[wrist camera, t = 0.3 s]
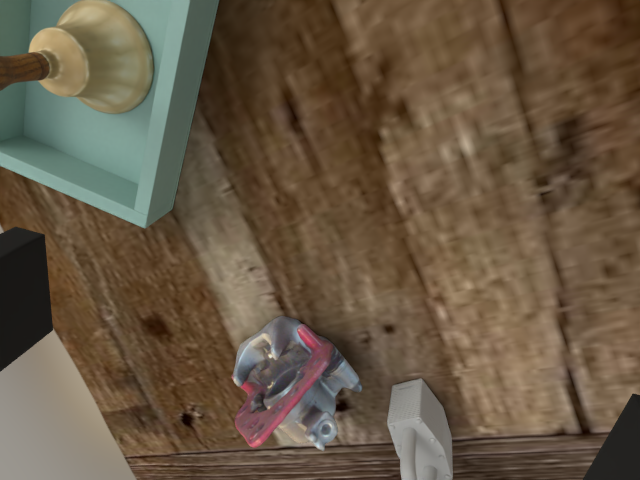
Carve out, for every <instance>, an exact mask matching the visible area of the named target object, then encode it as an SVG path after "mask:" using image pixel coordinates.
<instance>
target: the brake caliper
mask: <svg viewBox="0 0 640 480" xmlns="http://www.w3.org/2000/svg"><path fill="white" fill-rule="evenodd" d="M231 377H232V379H233V380H234V382H235V384H236V385H237V386H240V387H241V388H242V389H244V390H245V391H246V392H247V394H248V397H247V400H246V402H245V404H244V405H243V406H242V407H241V409H240V410H239V411H238V413H237V415H236V417H235V425H236V428H237V430H238V431H239V432H240V434H241V435H243V437H244V438H245V440H246V441H247V443H248V444H249V445H250V446H251V447H258V446H259V445H261V444H263V443H264V442H265V441H266V439H267V438H268V437H269V436H270V434H271V433H272V432H273V431H274V429H275V428H276V427H279V428H280V429H281V430H283V431H284V432H285V433H286V434H288V435H289V436H290V437H291V438H292V439H293V440H294V441H295V442H297V443H307V442H311V443H312V444H314V445H315V446H316V447H317V448H318V449H320V450H322V451H324V449H325V444H326V443H328V442H330V441H332V440H333V439H334V438H335V436H336V435H337V432H338V429H337V425H336V422H335V420H334V418H333V417H334V414H335V409H336V402H335V397H336V395H337V393H338V392H339V391H340V390H341V389H342V388H343V387H345V388H348V389H350V390H352V391H354V392H360V391H361V390H362V385H361V383H360V380H359V377H358V375H357V373H356V372H355V371H354V369H353V368H352V367H351V366H350V364H349V363H348V362H347V360H346V359H345V358H344V357H343V356H342V354H341V353H340V352H339V351H338V350H337V348H336V347H335V345H334V344H333V343H331V342H330V341H329V340H328V339H327V338H325V337H321V336H318V335H316V334H315V333H314V332H313V331H312V330H311V329H310V328H309V327H308V326H307V325H305V324H301V322H300V321H299V320H297V319H293V318H289V317H284V316H280V317H277V318H275V319H273V320H272V321H271V322H269V323H268V324H267V325H266V326H265V327H264V328H263V329H262V330H260V331H259V332H258V333H257V334H255V335H253V336H252V337H250V338H248V339H247V340H245V341H244V342H243V343H242V344H241V345H240V347H239V350H238V352H237V358H236V364H235V369H234V373H233V374H232V376H231ZM256 410H258V411H259V412H256V413H254V412H255V411H256Z"/></svg>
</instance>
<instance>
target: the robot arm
mask: <svg viewBox="0 0 640 480" xmlns="http://www.w3.org/2000/svg"><path fill="white" fill-rule="evenodd" d="M52 330H53V325H52V314H51V303H50V291H49V280H48V269H47V257H46V246H45V235H44V234H40V233H37V232H33V231H29V230H26V229H22V228H18V227H14V228H12V229H10V230H8V231H6V232H4V233H1V234H0V371H2V370H3V369H4V368H5V367H7V366H8V365H9V364H11V363H12V362H13V361H14V360H16V359H17V358H18V357H19V356H21V355H22V354H23V353H25V352H26V351H27V350H28V349H30V348H31V347H32V346H33V345H34V344H36V343H37V342H38V341H40V340H41V339H42V338H43V337H45V336H46V335H47V334H49V333H50V332H51V331H52ZM583 480H640V395H637V394H632V396H631V398H630V399H629V401H628V403H627V405H626V406H625V408H624V410H623V411H622V413H621V415H620V417H619V418H618V420H617V422H616V423H615V425H614V427H613V429H612V430H611V432H610V434H609V435H608V437H607V439H606V441H605V442H604V444H603V446H602V447H601V449H600V451H599V453H598V454H597V456H596V458H595V459H594V461H593V463H592V465H591V466H590V468H589V470H588V472H587V473H586V475H585V477H584V478H583Z"/></svg>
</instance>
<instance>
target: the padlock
mask: <svg viewBox="0 0 640 480" xmlns="http://www.w3.org/2000/svg"><path fill="white" fill-rule="evenodd" d="M387 424H388V428H389V431H390V434H391V437H392V440H393V443H394V446H395V449H396V452H397V455H398V457H399V458H400V460H401V462H400V469H401V478H402V480H452V478H453V470H452V436H451V433H450V429H449V426H448V422H447V419H446V415H445V412H444V408H443V406H442V405H441V404H440V402H439V401H438V400H437V398H436V397H435V396H434V394H433V393H432V392H431V390H430V389H429V387H428V386H427V385H426V383H425V382H424V381H423V379H417V380H413V381H409V382H405V383H401V384H397V385H393V386H392V391H391V399H390V406H389V413H388V421H387Z"/></svg>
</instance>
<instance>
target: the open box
mask: <svg viewBox="0 0 640 480" xmlns="http://www.w3.org/2000/svg"><path fill="white" fill-rule="evenodd" d="M78 1H81V0H0V56H13V55H19V54H26V53H29V47H30V44H31V41H32V39H33V38H34V36H35V35H36V34H37V33H38V32H40V31H41V30H43V29H45V28H50V27H55V26H56V25H57V23H58V21H59V19H60V17H61V16H62V14H63V13H64V12H65V11H66V10H67V9H68V8H69V7H70V6H71V5H73V4H74V3H76V2H78ZM108 1H110V2H113V3H115V4H117V5H119V6H120V7H122V8H123V9H125V10H126V11H127V12H128V13H129V14H131V15H132V16H133V18H134V19H135V20H136V21H137V22H138V23H139V25H140V26H141V28H142V29H143V31H144V33H145V35H146V36H147V39H148V41H149V44H150V47H151V50H152V55H153V63H154V75H153V81H152V84H151V87H150V90H149V92H148V94H147V96H146V97H145V99H144V100H143V101H142V103H140V104H139V105H138V106H137V107H135V108H134V109H132V110H130V111H128V112H125V113H120V114H108V113H103V112H99V111H97V110H94V109H92V108H90V107H89V106H87V105H85V104H84V103H82V102H81V101H80V100H79V99H78V98H76V97H62V96H58V95H55V94H53V93H51V92H50V91H48V90H47V89H46V88H44V87H43V86H42V85H41V84H40V82H39V81H27V82H18V83H14V84H11V85H9V86H7V87H6V88H4V89H3V90H1V91H0V166H2V167H4V168H7V169H9V170H11V171H14V172H16V173H18V174H21V175H23V176H25V177H27V178H30V179H32V180H34V181H37V182H39V183H41V184H44V185H46V186H48V187H51V188H53V189H55V190H57V191H60V192H62V193H64V194H67V195H69V196H71V197H74V198H76V199H78V200H80V201H83V202H85V203H87V204H90V205H92V206H94V207H97V208H99V209H101V210H103V211H106V212H108V213H110V214H113V215H115V216H117V217H120V218H122V219H124V220H127V221H129V222H131V223H133V224H136V225H138V226H140V227H143V228H146V227H148V226H149V225H151V224H152V223H154V222H155V221H156V220H158V219H159V218H161V217H162V216H164V215H165V214H166V213H168V212H169V211H171V210H172V209H173V205H174V200H175V196H176V191H177V187H178V182H179V178H180V173H181V169H182V165H183V160H184V156H185V151H186V147H187V142H188V138H189V133H190V129H191V124H192V120H193V115H194V111H195V106H196V102H197V97H198V93H199V88H200V84H201V79H202V75H203V71H204V66H205V62H206V57H207V53H208V48H209V44H210V39H211V35H212V30H213V26H214V21H215V17H216V12H217V8H218V3H219V0H108Z"/></svg>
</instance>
